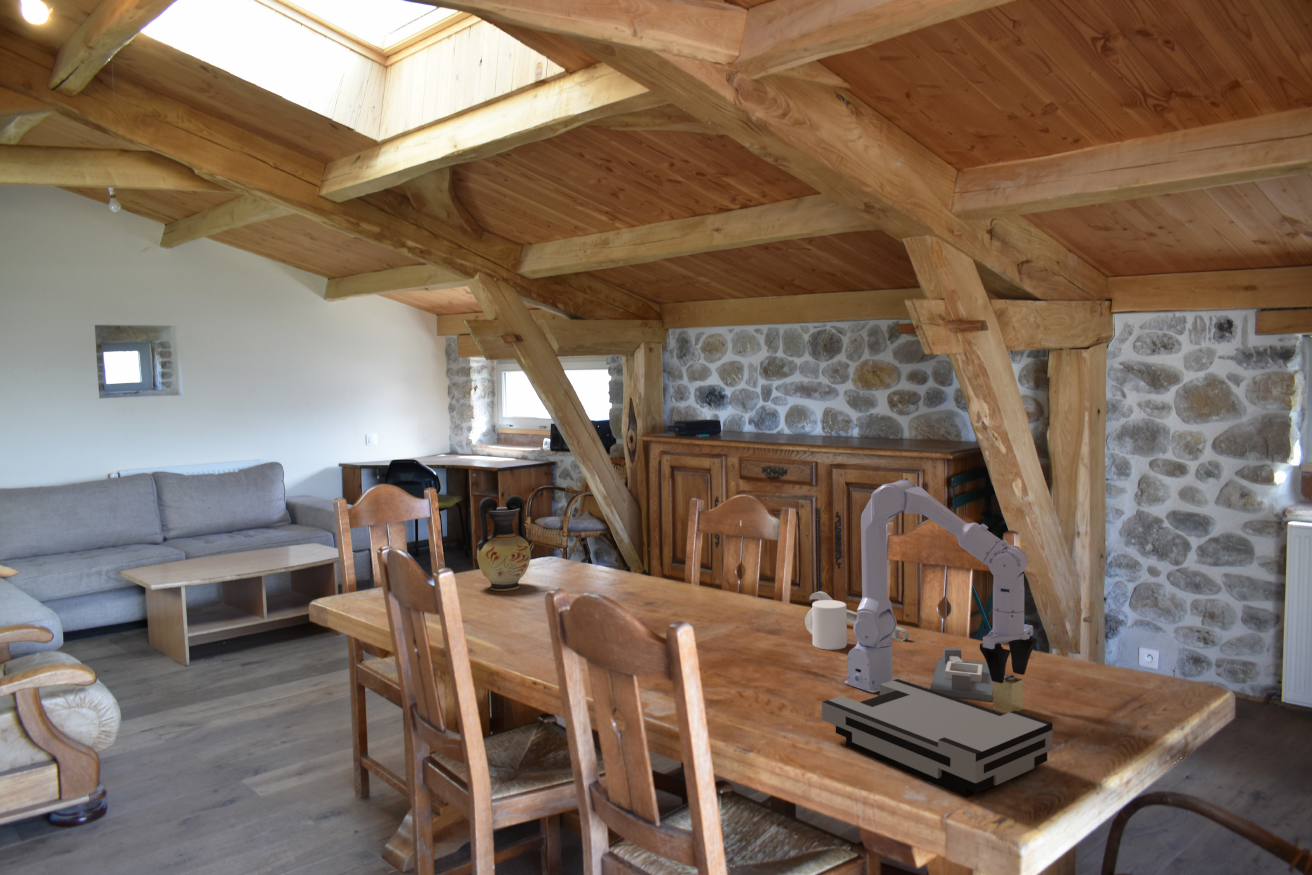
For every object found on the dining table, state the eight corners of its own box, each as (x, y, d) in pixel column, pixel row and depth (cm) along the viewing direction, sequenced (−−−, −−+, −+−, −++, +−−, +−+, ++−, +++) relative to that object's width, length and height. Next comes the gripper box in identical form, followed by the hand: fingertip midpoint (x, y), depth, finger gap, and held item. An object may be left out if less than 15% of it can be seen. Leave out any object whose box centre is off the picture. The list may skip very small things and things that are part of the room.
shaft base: (992, 700, 177) (992, 680, 176) (929, 693, 181) (929, 673, 181) (995, 668, 197) (995, 649, 197) (939, 662, 202) (939, 644, 201)
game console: (897, 713, 172) (897, 672, 171) (1051, 770, 145) (1052, 722, 145) (822, 739, 160) (821, 695, 159) (975, 806, 133) (975, 753, 133)
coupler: (1011, 714, 170) (1011, 680, 169) (992, 708, 173) (992, 675, 172) (1022, 709, 172) (1023, 676, 172) (1004, 703, 175) (1004, 671, 175)
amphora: (514, 579, 297) (512, 491, 295) (541, 587, 284) (539, 495, 282) (467, 587, 286) (465, 496, 284) (493, 596, 273) (491, 500, 271)
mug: (829, 609, 210) (794, 600, 220) (829, 652, 211) (795, 640, 221) (853, 604, 215) (818, 595, 225) (853, 645, 216) (818, 635, 225)
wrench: (903, 653, 219) (807, 617, 241) (907, 651, 220) (811, 616, 242) (906, 622, 218) (809, 589, 240) (910, 620, 219) (814, 588, 241)
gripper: (1006, 619, 164) (1006, 691, 164) (1047, 606, 173) (1047, 674, 173) (973, 612, 169) (973, 681, 170) (1014, 600, 178) (1014, 666, 179)
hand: (1008, 677), depth 172 cm, fingers open, 7 cm apart
